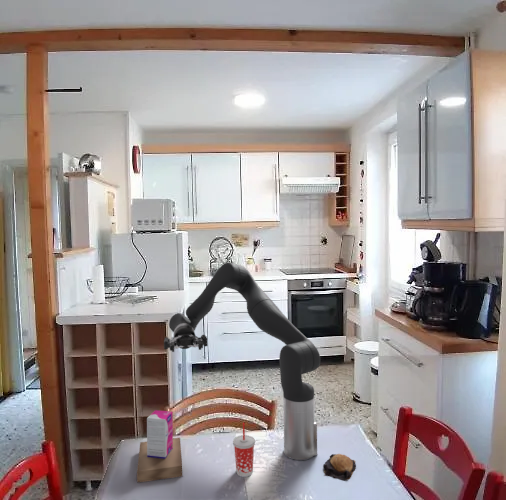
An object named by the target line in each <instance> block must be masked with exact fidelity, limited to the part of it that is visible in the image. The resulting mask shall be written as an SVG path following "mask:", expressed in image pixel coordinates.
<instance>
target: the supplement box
mask: <svg viewBox="0 0 506 500" xmlns="http://www.w3.org/2000/svg"><path fill="white" fill-rule="evenodd" d="M173 413H174V412H173V411H170V410H169V411H168V410H167V411H166V410H159V409H158V410H157V409H155V410H154V411H153V412H151V414H150V415H149V416H148V417H147V418H146V442H147V457H150V458H160V459H165V458H166V457H167V455H168V454H169V453H170V451H171V450H172V449H173V438H174V436H173V435H174V434H173V431H174V430H173V426H174V425H173V424H174V422H173V421H174V420H173V419H174V418H173V417H174V415H173Z"/></svg>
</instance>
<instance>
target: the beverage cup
mask: <svg viewBox="0 0 506 500" xmlns="http://www.w3.org/2000/svg"><path fill="white" fill-rule="evenodd" d="M245 426H246V425H245V422H243V421H242V435H241V434H240V435H238V436H236V437H234V438H233V440H232V444H233V447H234V448H233V449H234V458H235V459H234V460H235V473H236V474H237V475H238V476H239V477H243V478H245V477H246V478H247V477H249V476H251V475H252V474H253V473H254V454H255V445H256V444H255V442H256V439H255V437H254V436H251V435H248V434H246V432H245V431H246V430H245Z"/></svg>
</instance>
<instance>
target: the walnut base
mask: <svg viewBox="0 0 506 500" xmlns="http://www.w3.org/2000/svg"><path fill="white" fill-rule="evenodd" d="M138 450H139V451H138V459H137V461H138V462H137V467H136V468H137V470H136V482H137V483H143V482H144V483H145V482H151V481H158V480H165V479H173V478H181V477H183V459H182V444H181V437H175V438H174V437H173V449H172V450H171V451H170V453H169V454H168V455H167V457H166V458H165V459H160V458H150V457H147V441H141V442H139V449H138Z"/></svg>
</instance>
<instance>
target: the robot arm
mask: <svg viewBox="0 0 506 500" xmlns="http://www.w3.org/2000/svg"><path fill="white" fill-rule="evenodd" d="M225 288H227V289H230V290H233V291H236V292H238V293H239V294H240V295H241V296H242V297H243V299H244V300H245V302H246V310H247V313H248V316H249V317H250V319H251V320H252V321H253V323H254V324H255V325H256V326H257V328H258V329H259V330H261V331H263V332H264V333H266V334H267V335H269V336H271V337H273V338H275V339H278V341H281V342H283V344H284V346H282V347H281V349H280V353H279V375H280V385H281V388H282V389H281V390H282V394H283V395H282V397H283V403H282V405H283V452H284V454H285V457H288V458H289V459H291V460H296V461H304V460H310V459H312V458H313V457H314V456H317V455H318V424H317V421H315V388H314V386H313V385H312V384H310V383H307V382H305V381H303V378H302V377H303V376H302V375H304V374H308V373H311V372H314V371H316V370H318V368H319V367H320V366H321V356H320V353H319V351H318V348H317V346H315V345H314V343H313V342H312V341H311V340H310V339H309V338H308V337H306V336H305V335H304V333H302V332H301V330H299V329H298V328H297V327H296V326H295V325H294V324H293V323H292V322H291V321H290V320H289V319H288V318H287V317H286V315H285V314H284V313H283V312H282V311H281V309H280V308H279V307H278V305H277V304H275V302H274V301H273V300H272V299H271V298H270V297H269V296H268V295H267V293H266V292H265V291H264V289H262V287H260V286H259V285H258V283H257V281H256V280H255V279H254V276H253V275H252V274H251V273H250V271H249V269H247V268H246V267H245V266H242V265H240V264H237V263H234V262H224V263H223V264H222V265H221V266H220V267H218V269H217V271H216V272H215V273H214V275H213V276H212V278H211V279H210V281H209V282H208V283H207V284H206V286H205V288H204V289H203V291H202V292H201V294H200V295H199V296H198V297H197V298H196V299H195V300H194V301H193V302H192V303H191V304H190V305H189V306H187V308H186V310H185V315H184V314H183V313H180V312H178V313H175V314H173V315H172V316H171V318H170V319H169V323H168V326H169V327H168V328H169V329H170V330H171V332H173V338H171V339H170V338H169V336H167V337H164V340H163V349H164V350H168V349H169V351H171V352H172V353H175V350H177V349H181V350H188V349H190V348H198V350H202V349H203V348H204V347H208V337H207V336H206V335H205V334H202V335H201V336H200V337H198V336H196V333H195V331H196V328H197V326H198V325H199V323H200V322H201V321H202V319H204V318H205V317H206V316H207V315H208V314H209V313H210V312H211V311H212V309H213V307H214V304H215V299H216V296H217V295H218V293H219V292H220V291H222V290H224V289H225Z"/></svg>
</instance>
